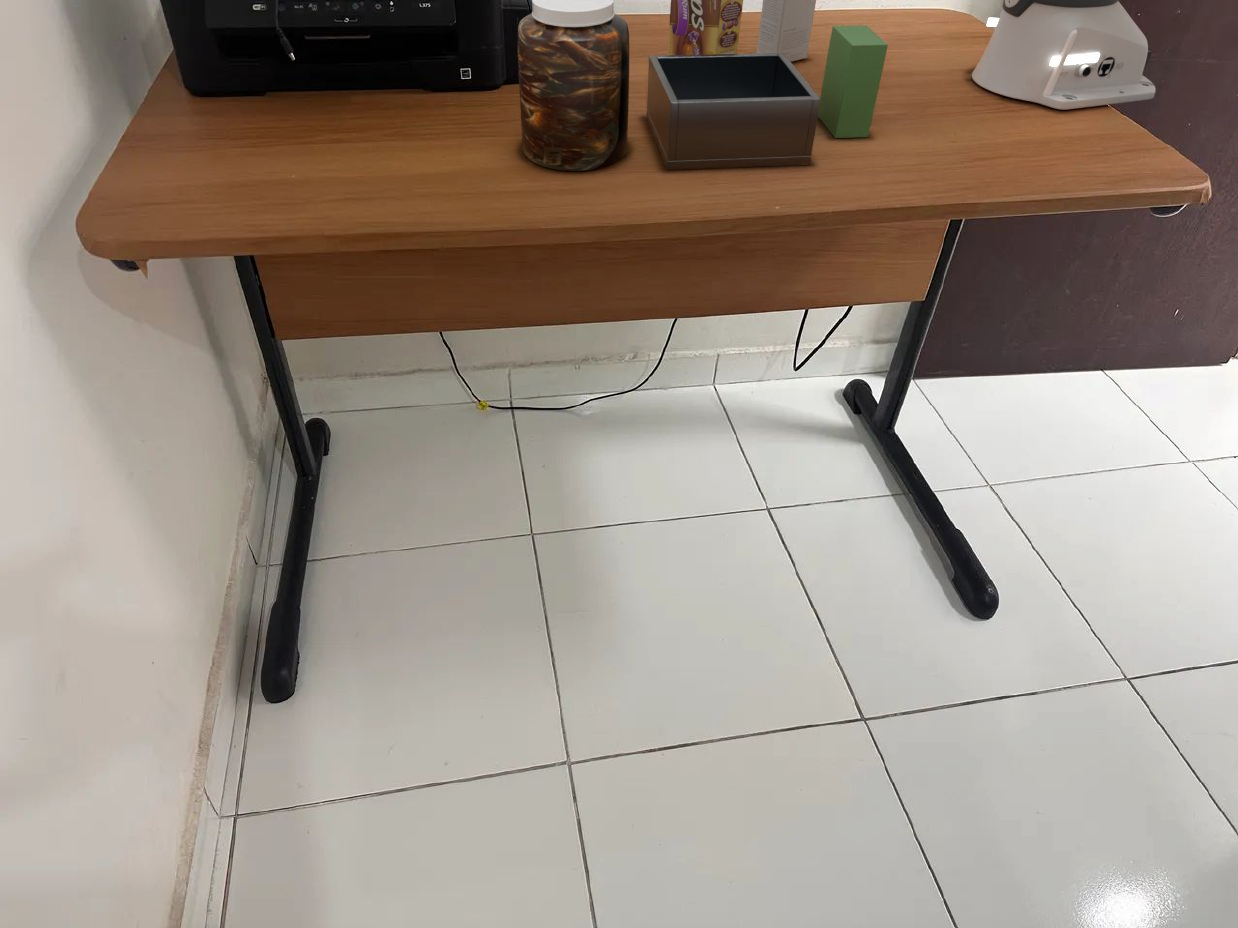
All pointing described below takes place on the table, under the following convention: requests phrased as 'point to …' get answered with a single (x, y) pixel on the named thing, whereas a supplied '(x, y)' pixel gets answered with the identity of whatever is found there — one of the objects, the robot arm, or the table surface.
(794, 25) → the cosmetic box
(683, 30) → the candy box
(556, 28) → the jar
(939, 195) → the table surface
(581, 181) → the table surface
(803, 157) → the open box
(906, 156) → the table surface
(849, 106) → the block
